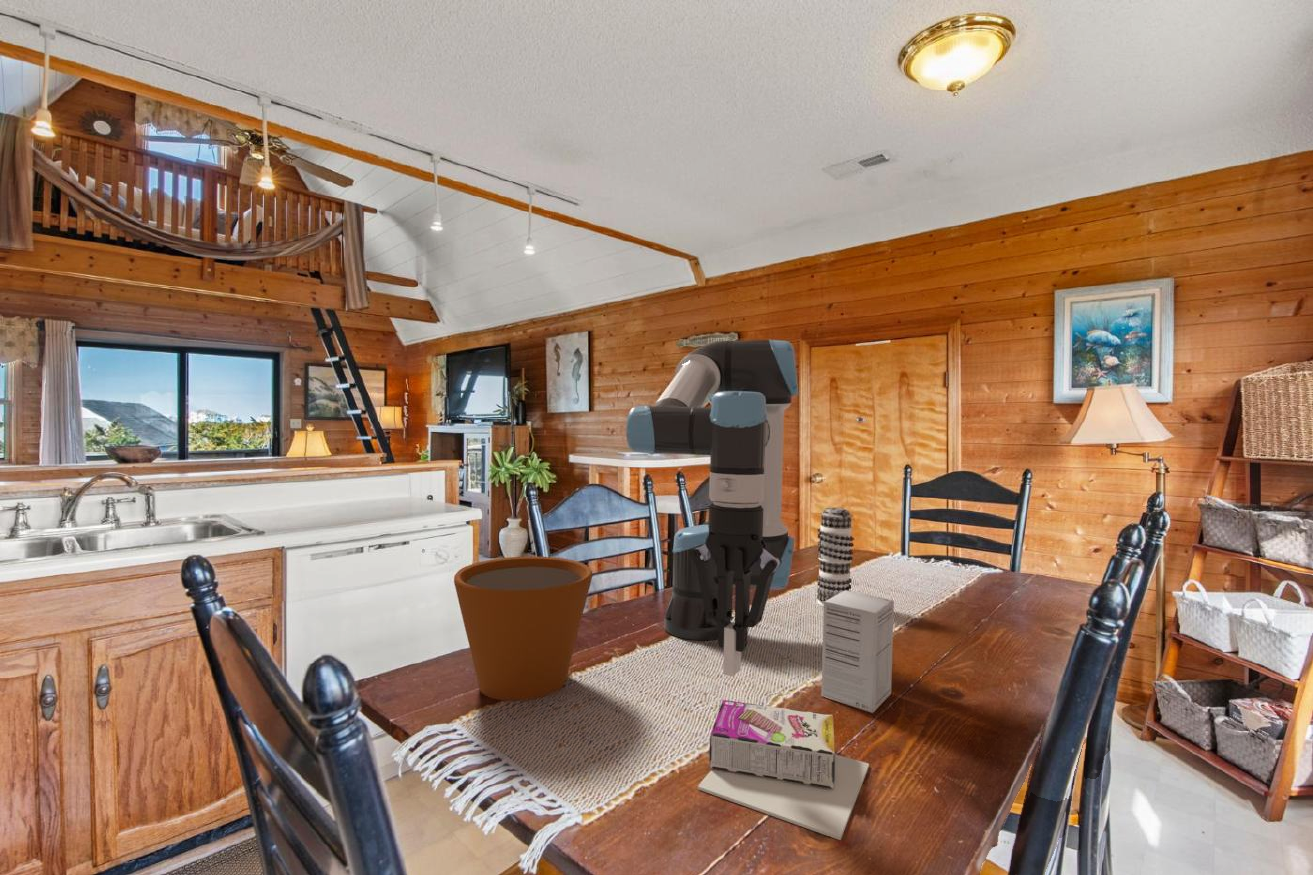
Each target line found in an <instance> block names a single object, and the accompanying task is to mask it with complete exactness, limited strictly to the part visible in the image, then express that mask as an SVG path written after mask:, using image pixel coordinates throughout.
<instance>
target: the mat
mask: <svg viewBox="0 0 1313 875" xmlns="http://www.w3.org/2000/svg"><path fill="white" fill-rule="evenodd" d="M869 766H870V763H867V762H865V761H860V760H858V759H854V758H850V757H847V756H843V755H840V754H837V753H835V781H834V789H831V788H827V787H821V786H815V785H809V784H803V783H797V782H791V781H785V780H779V779H773V778H768V777H762V776H756V775H750V774H744V773H739V772H732V771H727V770H721V769H716V768H711V770H710V771H709V772H708V773H707V774H706V775H705V777H704V778H703V779H702V781H701V782H700V783H699V784H698V785H697V791H698V790H699V791H701V792H704V793H707V794H710V795H713V796H715V797H718V798H720V799H724V800H727V801H730V802H732V803H734V804H738V805H740V806H744V807H746V808H749V809H751V810H754V811H758V812H759V813H762V814H766V815H768V816H771V817H774V818H777V819H779V820H783V821H785V822H788V823H791V824H792V825H793V824H794V825H795V826H799V827H802V828H804V829H807V830H810V831H813V832H816V833H819V834H822V835H825V836H826V837H829V836H830V837H831V838H833V839H835V840H838V841H841V840H842V838H843V835H844V832H845V830H846V827H847V824H848V823H849V819H850V817H851V815H852V812H853V810H854V807H855V803H856V801H857V798H858V796H859V794H860V791H861V788H862V786H863V782H864V780H865V779H866V776H867V773H868V770H869Z"/></svg>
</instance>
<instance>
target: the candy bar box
mask: <svg viewBox="0 0 1313 875" xmlns="http://www.w3.org/2000/svg"><path fill="white" fill-rule="evenodd" d="M834 720H835V719H834V715H833V714H827V713H821V712H820V713H819V712H815V711H814V712H812V711H805V710H799V709H798V710H797V709H790V708H784V707H776V706H770V705H769V706H768V705H761V704H755V703H747V702H740V701H733V700H728V699H727V700H726V699H723V700H721V704H720V707H719V710H718V712H717V716H716V717H715V721H714V724H713V727H712V729H711V732H710V735H709V736H710V737H709V755H708V756H709V758H708V759H709V760H708V761H709V768H710V769H713V768H716V769H721V770H727V771H732V772H739V773H744V774H750V775H756V776H762V777H768V778H773V779H779V780H785V781H791V782H797V783H803V784H809V785H815V786H821V787H827V788H831V789H834V781H835V754H836V751H835V750H836V748H835V746H836V743H835V738H836V737H835V726H834V725H835V723H834Z"/></svg>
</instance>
